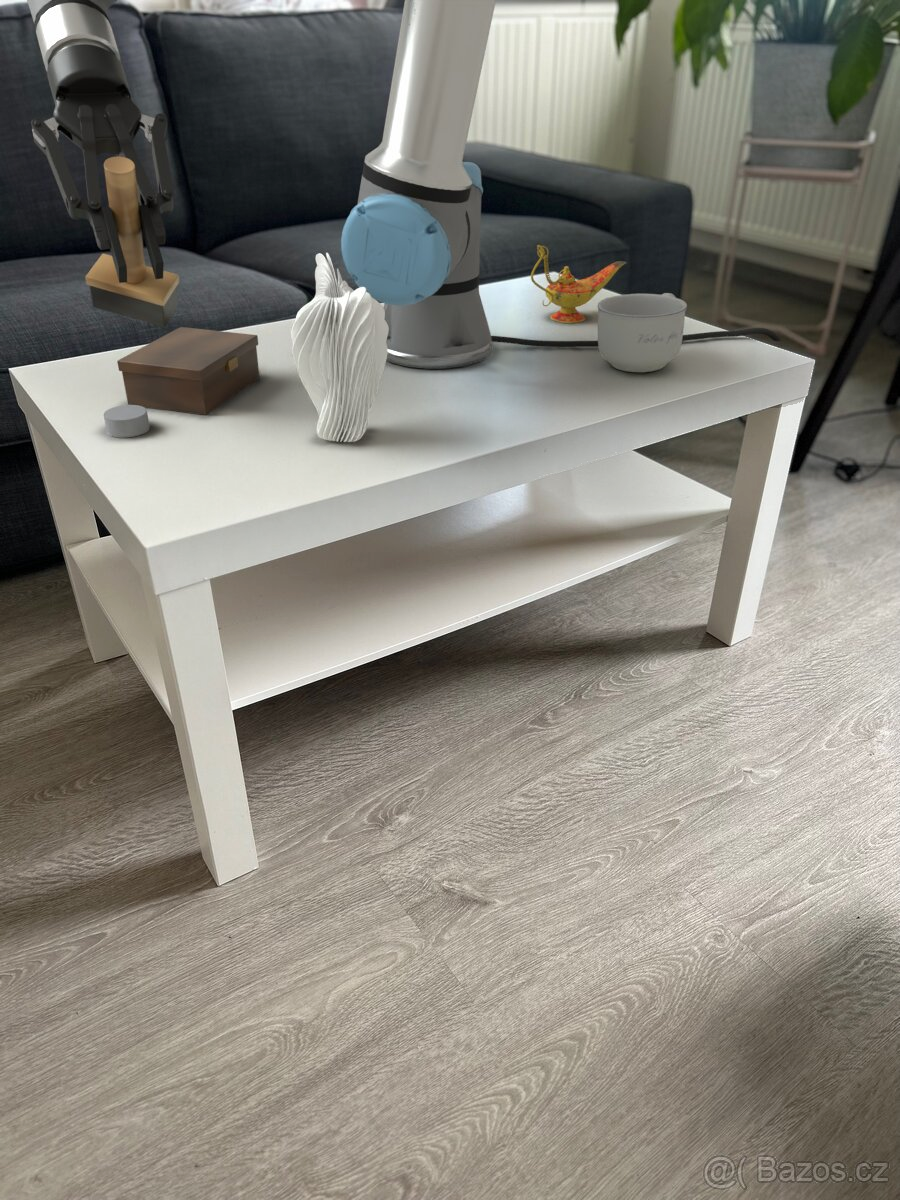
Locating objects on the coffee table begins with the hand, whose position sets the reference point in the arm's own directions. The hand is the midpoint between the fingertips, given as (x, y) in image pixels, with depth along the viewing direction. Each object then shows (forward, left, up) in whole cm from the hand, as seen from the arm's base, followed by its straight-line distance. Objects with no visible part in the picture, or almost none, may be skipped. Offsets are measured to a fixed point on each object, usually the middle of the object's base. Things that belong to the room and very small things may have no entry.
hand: (141, 272), depth 91 cm
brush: (+6, -7, -6) cm, 11 cm away
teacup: (-46, -38, -16) cm, 62 cm away
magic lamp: (-34, -56, -16) cm, 68 cm away
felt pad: (+4, +2, -14) cm, 15 cm away
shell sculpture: (-19, -4, -16) cm, 26 cm away
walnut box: (+3, -11, -16) cm, 20 cm away
